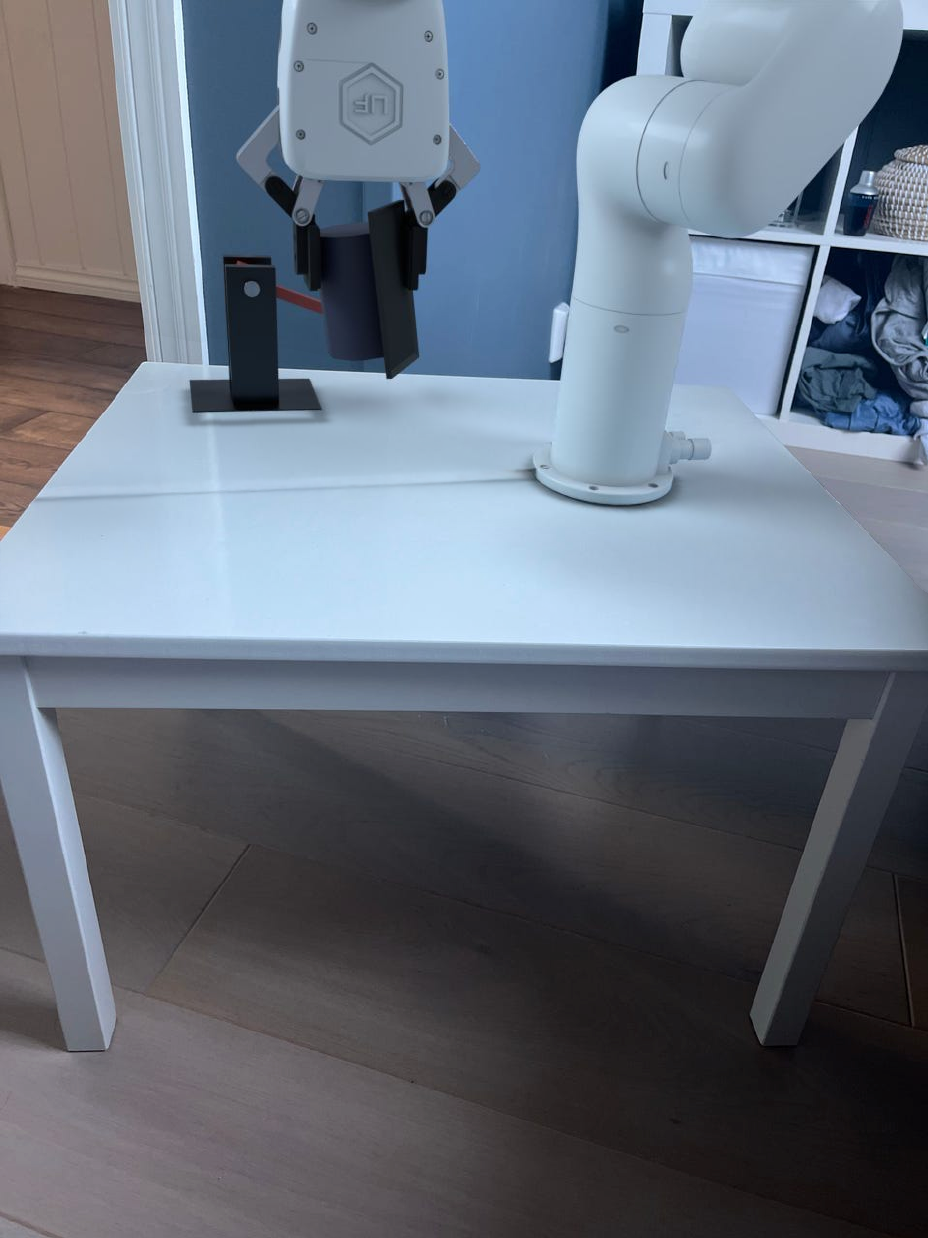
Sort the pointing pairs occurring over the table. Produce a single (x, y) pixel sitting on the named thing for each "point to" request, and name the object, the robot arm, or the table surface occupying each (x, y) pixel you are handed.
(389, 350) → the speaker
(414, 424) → the table surface
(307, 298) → the lever
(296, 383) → the bracket
